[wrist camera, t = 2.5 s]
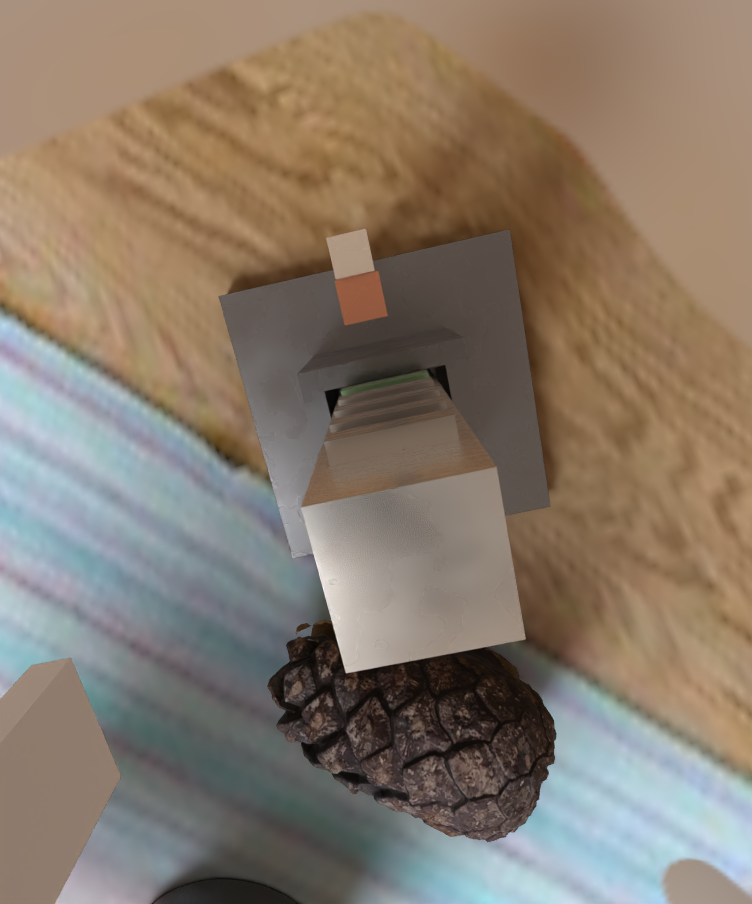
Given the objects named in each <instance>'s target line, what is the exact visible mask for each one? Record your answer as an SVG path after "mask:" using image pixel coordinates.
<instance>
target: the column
mask: <svg viewBox="0 0 752 904" xmlns="http://www.w3.org/2000/svg"><path fill="white" fill-rule="evenodd" d="M301 509H302V513H303V517H304V520H305V524H306V528H307V531H308V535H309V539H310V543H311V546H312V550H313V554H314V557H315V561H316V565H317V568H318V572H319V576H320V579H321V583H322V587H323V591H324V594H325V598H326V602H327V605H328V609H329V613H330V616H331V620H332V624H333V627H334V631H335V635H336V638H337V642H338V646H339V650H340V653H341V657H342V661H343V664H344V668H345V672H346V673H351V672H356V671H361V670H366V669H372V668H377V667H382V666H388V665H393V664H398V663H404V662H409V661H414V660H419V659H425V658H430V657H435V656H441V655H446V654H451V653H457V652H462V651H467V650H472V649H478V648H483V647H488V646H494V645H499V644H504V643H510V642H515V641H520V640H526V637H525V632H524V626H523V620H522V614H521V608H520V602H519V596H518V590H517V584H516V578H515V573H514V567H513V561H512V555H511V549H510V543H509V537H508V531H507V525H506V519H505V514H504V508H503V502H502V496H501V490H500V484H499V478H498V472H497V467H496V465H495V464H494V462H493V461H492V459H491V458H490V457H489V455H488V454H487V452H486V451H485V449H484V448H483V446H482V445H481V443H480V442H479V440H478V439H477V437H476V436H475V434H474V433H473V431H472V430H471V429H470V427H469V426H468V424H467V423H466V421H465V420H464V418H463V417H462V415H461V414H460V412H459V411H458V409H457V408H456V406H455V405H454V403H453V402H452V400H451V399H450V398H449V396H448V395H447V393H446V392H445V390H444V389H443V387H442V386H441V384H440V383H439V381H438V380H437V378H436V377H435V375H434V374H433V372H432V371H431V369H430V368H428V369H424V370H419V371H414V372H410V373H405V374H401V375H396V376H391V377H387V378H382V379H378V380H373V381H369V382H364V383H359V384H355V385H350V386H346V387H342V389H341V392H340V394H339V397H338V400H337V403H336V406H335V409H334V412H333V415H332V418H331V421H330V424H329V427H328V430H327V433H326V436H325V438H324V441H323V444H322V447H321V450H320V453H319V456H318V459H317V462H316V465H315V468H314V471H313V474H312V477H311V480H310V482H309V485H308V488H307V491H306V494H305V497H304V500H303V503H302V506H301Z"/></svg>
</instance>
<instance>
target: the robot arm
mask: <svg viewBox="0 0 752 904" xmlns="http://www.w3.org/2000/svg"><path fill="white" fill-rule="evenodd" d="M120 778H121V775H120V773H119V770H118V768H117V766H116V763H115V761H114V759H113V756H112V754H111V752H110V749H109V747H108V744H107V742H106V740H105V737H104V735H103V733H102V730H101V728H100V726H99V723H98V721H97V718H96V716H95V714H94V711H93V709H92V707H91V704H90V702H89V700H88V697H87V695H86V692H85V690H84V688H83V685H82V683H81V681H80V678H79V676H78V674H77V671H76V669H75V666H74V664H73V662H72V659H71V658H67V659H62V660H57V661H51V662H46V663H41V664H36V665H31V666H30V667H29V669H28V670H27V671H26V672H25V673H24V674H23V675H22V676H21V677H20V678H19V680H18V681H17V682H16V683H15V684H14V685H13V686H12V687H11V688H10V689H9V691H8V692H7V693H6V694H5V695H4V696H3V697H2V698H1V699H0V904H55V902H56V900H57V898H58V896H59V894H60V892H61V891H62V889H63V887H64V885H65V883H66V881H67V879H68V877H69V875H70V873H71V871H72V869H73V868H74V866H75V864H76V862H77V860H78V858H79V856H80V854H81V852H82V850H83V848H84V846H85V845H86V843H87V841H88V839H89V837H90V835H91V833H92V831H93V829H94V827H95V825H96V824H97V822H98V820H99V818H100V816H101V814H102V812H103V810H104V808H105V806H106V804H107V802H108V801H109V799H110V797H111V795H112V793H113V791H114V789H115V787H116V785H117V783H118V781H119V780H120ZM154 904H297V903H295V902H294V901H293V900H291V899H290V898H288V897H286V896H285V895H283V894H281V893H279V892H277V891H275V890H273V889H270V888H268V887H265V886H262V885H259V884H255V883H251V882H246V881H240V880H227V879H218V880H206V881H200V882H195V883H191V884H188V885H185V886H182V887H179V888H177V889H175V890H173V891H171V892H169V893H167V894H165V895H164V896H162V897H161V898H159V899H158V900H157V901H156V902H155V903H154Z"/></svg>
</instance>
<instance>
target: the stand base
mask: <svg viewBox="0 0 752 904" xmlns="http://www.w3.org/2000/svg"><path fill="white" fill-rule="evenodd" d="M326 239H327V244H328V248H329V253H330V257H331V261H332V266H333V270H330V271H326V272H322V273H317V274H313V275H309V276H304V277H300V278H296V279H291V280H287V281H283V282H278V283H274V284H269V285H265V286H261V287H256V288H252V289H248V290H243V291H239V292H235V293H230V294H226V295H222V296H219V299H220V303H221V306H222V310H223V314H224V317H225V321H226V324H227V328H228V331H229V335H230V338H231V342H232V345H233V349H234V353H235V356H236V360H237V363H238V367H239V370H240V374H241V377H242V381H243V384H244V388H245V391H246V395H247V399H248V402H249V406H250V409H251V413H252V416H253V420H254V423H255V427H256V430H257V434H258V438H259V441H260V445H261V448H262V452H263V455H264V459H265V462H266V466H267V469H268V473H269V476H270V480H271V484H272V487H273V491H274V494H275V498H276V501H277V505H278V508H279V512H280V515H281V519H282V523H283V526H284V530H285V533H286V537H287V540H288V544H289V547H290V551H291V554H292V558H297V557H302V556H307V555H312V554H313V550H312V546H311V543H310V539H309V535H308V531H307V528H306V524H305V520H304V517H303V513H302V509H301V506H302V503H303V500H304V497H305V494H306V491H307V488H308V485H309V482H310V480H311V477H312V474H313V471H314V468H315V465H316V462H317V459H318V456H319V453H320V450H321V447H322V444H323V441H324V438H325V436H326V433H327V430H328V427H329V424H330V421H331V418H332V415H333V412H334V409H335V406H336V403H337V400H338V397H339V394H340V392H341V389H342V387H346V386H350V385H355V384H359V383H364V382H369V381H373V380H378V379H382V378H387V377H391V376H396V375H401V374H405V373H410V372H414V371H419V370H424V369H428V368H430V369H431V371H432V372H433V374H434V375H435V377H436V378H437V380H438V381H439V383H440V384H441V386H442V387H443V389H444V390H445V392H446V393H447V395H448V396H449V398H450V399H451V400H452V402H453V403H454V405H455V406H456V408H457V409H458V411H459V412H460V414H461V415H462V417H463V418H464V420H465V421H466V423H467V424H468V426H469V427H470V429H471V430H472V431H473V433H474V434H475V436H476V437H477V439H478V440H479V442H480V443H481V445H482V446H483V448H484V449H485V451H486V452H487V454H488V455H489V457H490V458H491V459H492V461H493V462H494V464H495V465H496V467H497V472H498V478H499V484H500V490H501V496H502V502H503V508H504V514H505V515H510V514H515V513H520V512H525V511H530V510H535V509H540V508H545V507H550V501H549V494H548V487H547V481H546V474H545V467H544V460H543V453H542V446H541V439H540V433H539V426H538V419H537V412H536V405H535V398H534V392H533V385H532V378H531V371H530V364H529V357H528V350H527V344H526V337H525V330H524V323H523V316H522V309H521V302H520V296H519V289H518V282H517V275H516V268H515V261H514V255H513V248H512V241H511V234H510V229H509V230H504V231H500V232H496V233H491V234H487V235H483V236H478V237H474V238H470V239H465V240H461V241H456V242H452V243H448V244H443V245H439V246H435V247H430V248H426V249H422V250H417V251H413V252H409V253H404V254H400V255H396V256H391V257H387V258H383V259H378V260H374V261H373V260H372V256H371V251H370V246H369V241H368V237H367V232H366V229H362V230H358V231H353V232H349V233H345V234H341V235H336V236H332V237H328V238H326Z"/></svg>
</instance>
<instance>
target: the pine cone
mask: <svg viewBox="0 0 752 904" xmlns="http://www.w3.org/2000/svg"><path fill="white" fill-rule="evenodd" d="M309 626H311V625H309V624H307V623H306V624H301V625H300V626H298V627H297V630H296V635H297V632H299V631H301V630H303V629H305V628H308V627H309ZM286 647H287V649H288V653H289V658H290V662H289V663H288V664H286V665H285V666H283V667H282V668H281V669H280V670H279V671H278V672H277V673H276V674H275V675H274V676H273V677H272V678H271V679H270V680H269V683H268V686H267V687H268V689H269V690H270V692H271V694H272V699H273V700H274V701H275V703H276V704H277V705H278V707H279V708H282V709H284V710H286V712H285V714H284V715H283V716H282V717H281V718H280V720H279V721H278V723H277V725H276V727H277V728H278V730H280V731H281V732H283V733H284V735H285V737H286V739H287V740H288V741H289V742H295V741H300V742H302V743H301V747H302V749H303V753H304V756H305V757H306V758H307V759H308V760H309V762H310V763H311V764H312V765H313V766H314V767H317V768H320V769H327V770H328V771H329V772H331V773H332V775H333V777H334V778H335V779H336V780H337V781H339V782H341V783H342V784H343V785H345V786H346V787H347V788H349V790H350V791H351V792H352V793H353V794H356V793H357V792H358V790H360V791H362V792H364V793H366V794H368V795H373V796H374V799H375V800H376V801H377V802H378V803H379V804H383V805H386V806H387V807H388V808H390V809H392V810H394V811H404V812H406V813H409V814H411V815H412V816H413V817H415V818H417V817H419V818H421V819H423V822H424V823H425V824H427V825H429V826H431V827H433V828H435V829H437V830H439V831H442V832H443V833H445V834H446V835H448V836H450V837H454V836H458V835H465V836H466V837H468V838H472V839H478V840H481V839H484V840H486V841H487V842H491V841H495V840H497V839H499V838H503V837H506V836H507V834H508V833H509V832H515V831H516V830H517V828H518V827H519V826H521V825H523V824H525V823H526V821H527V818H528V817H529V816H530V815H531V814H532V811H533V810H534V809H535V807H536V803H537V802H536V801H537V800H539V795H540V787H541V784H542V782H543V781H545V780H546V779H547V777H548V774H549V772H548V770H547V767H548V766H549V765H551V764H554V760H555V756H554V748H555V747H554V740H555V739H556V731H555V729H554V720H553V718H552V716H551V715H550V713H549V712H548V710H547V709H546V707H545V706H544V704H543V700H542V699H541V697H540V696H539V694H538V693H537V692H535V691H534V690H533V689H532V688H531V686H530V685H529V684H526V683H524V682H522V681H520V680H519V676H518V672H517V669H516V668H515V667H514V666H513V665H512V664H510V663H509V662H508V661H507V660H506V659H505V658H503V657H502V656H501V655H499V654H497V653H495V652H493V651H491V650H489V649H487V648H485V647H483V648H478V649H472V650H467V651H462V652H457V653H451V654H446V655H441V656H435V657H430V658H425V659H419V660H414V661H409V662H404V663H398V664H393V665H388V666H382V667H377V668H372V669H366V670H361V671H356V672H351V673H346V672H345V668H344V664H343V661H342V657H341V653H340V650H339V646H338V642H337V638H336V635H335V631H334V627H333V624H332V621H326V620H323V621H320V622H317V623H315V624H314V625H313V628H312V635H311V636H307V637H304V638H301V637H298V638H297V639H294V640H291V641H289V642H288V643H287V645H286Z"/></svg>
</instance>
